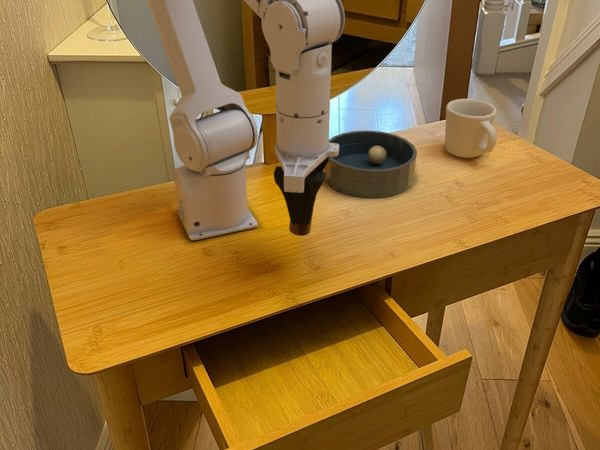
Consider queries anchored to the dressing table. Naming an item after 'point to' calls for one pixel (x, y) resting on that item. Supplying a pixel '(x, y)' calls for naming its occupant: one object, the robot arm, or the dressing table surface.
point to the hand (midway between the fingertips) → (302, 215)
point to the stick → (301, 226)
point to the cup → (470, 127)
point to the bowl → (371, 165)
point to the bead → (377, 155)
